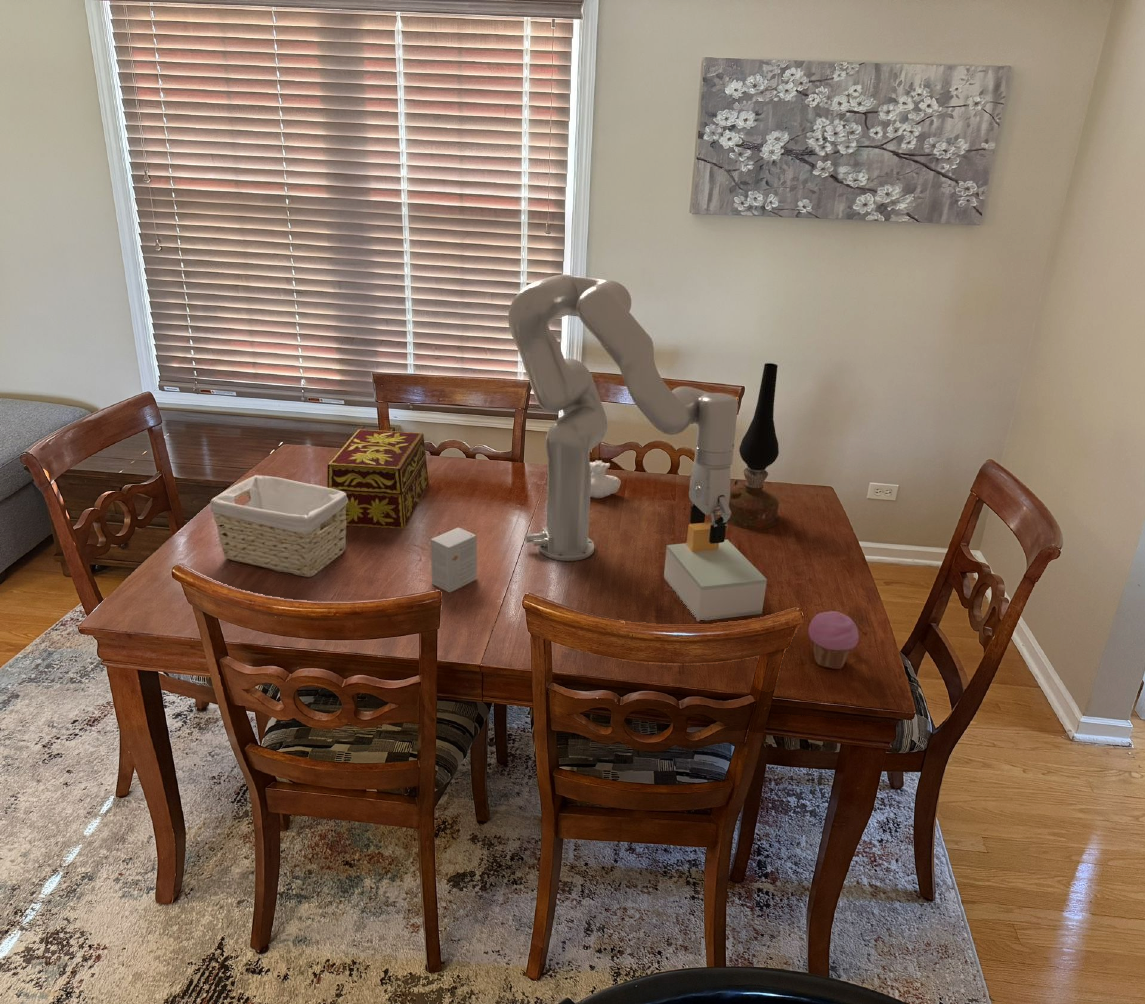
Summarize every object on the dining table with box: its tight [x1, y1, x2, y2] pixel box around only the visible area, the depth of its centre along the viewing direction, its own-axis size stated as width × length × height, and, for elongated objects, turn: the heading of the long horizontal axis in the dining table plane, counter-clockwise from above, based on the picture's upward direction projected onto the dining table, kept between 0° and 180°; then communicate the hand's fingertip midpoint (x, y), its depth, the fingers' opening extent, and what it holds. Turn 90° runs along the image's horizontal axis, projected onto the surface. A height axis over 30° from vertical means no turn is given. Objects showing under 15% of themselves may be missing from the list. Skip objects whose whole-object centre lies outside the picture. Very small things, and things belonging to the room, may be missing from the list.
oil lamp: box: [728, 362, 780, 530], centre depth 204 cm, size 14×15×40 cm
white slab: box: [666, 521, 768, 590], centre depth 170 cm, size 18×14×7 cm
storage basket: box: [210, 474, 348, 578], centre depth 179 cm, size 24×16×15 cm
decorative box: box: [326, 428, 430, 530], centre depth 206 cm, size 28×19×15 cm
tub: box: [663, 548, 767, 622], centre depth 173 cm, size 18×14×7 cm
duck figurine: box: [590, 459, 622, 499], centre depth 217 cm, size 12×8×11 cm
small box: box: [430, 527, 478, 593], centre depth 172 cm, size 8×6×10 cm
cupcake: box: [807, 610, 860, 670], centre depth 151 cm, size 9×9×10 cm
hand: (706, 532), depth 175 cm, fingers open, 9 cm apart
